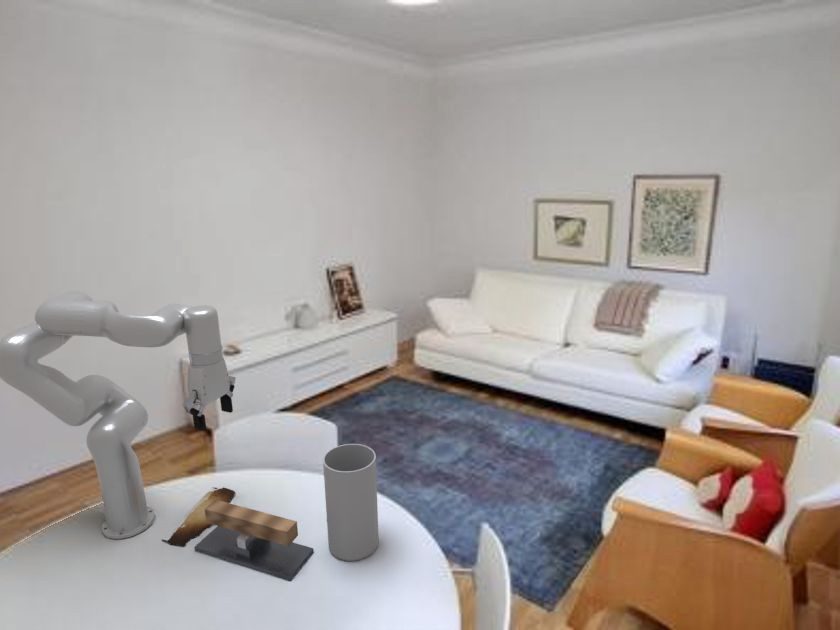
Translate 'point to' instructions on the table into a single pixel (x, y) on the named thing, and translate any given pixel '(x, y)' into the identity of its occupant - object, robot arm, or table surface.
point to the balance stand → (255, 552)
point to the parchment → (198, 517)
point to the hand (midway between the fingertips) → (214, 419)
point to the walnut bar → (252, 522)
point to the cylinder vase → (351, 501)
